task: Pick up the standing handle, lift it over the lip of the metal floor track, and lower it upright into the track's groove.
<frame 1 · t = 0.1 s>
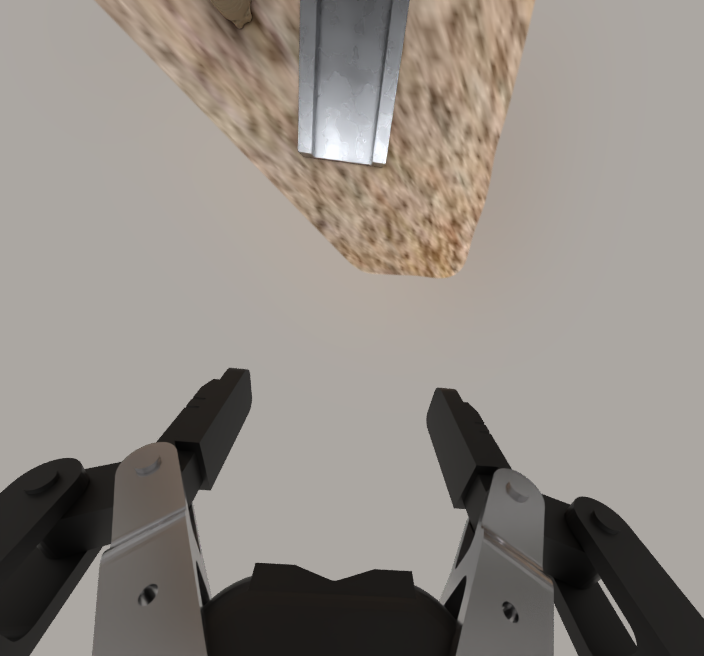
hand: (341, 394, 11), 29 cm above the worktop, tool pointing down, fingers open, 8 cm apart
handle: (239, 9, 26), on the worktop
floor track: (349, 89, 28), on the worktop
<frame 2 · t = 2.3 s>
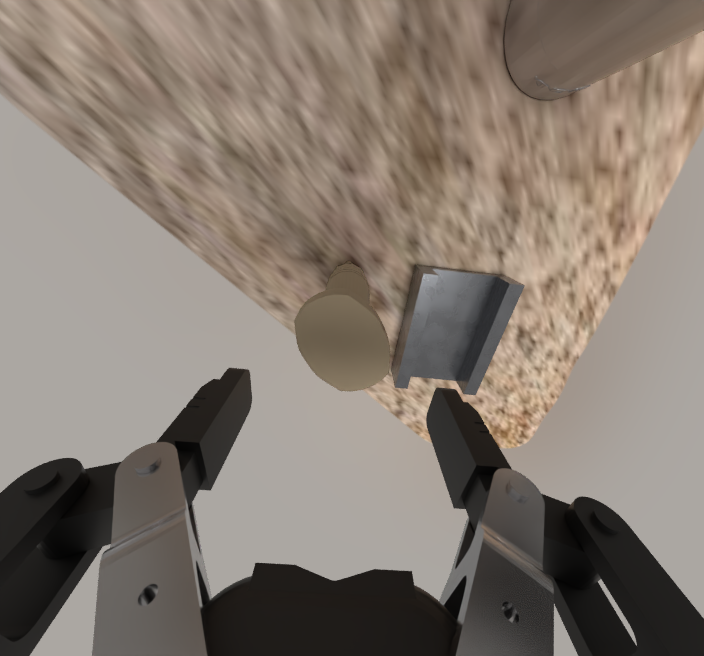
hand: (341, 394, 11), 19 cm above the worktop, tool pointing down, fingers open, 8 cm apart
handle: (348, 275, 28), on the worktop
floor track: (442, 327, 30), on the worktop
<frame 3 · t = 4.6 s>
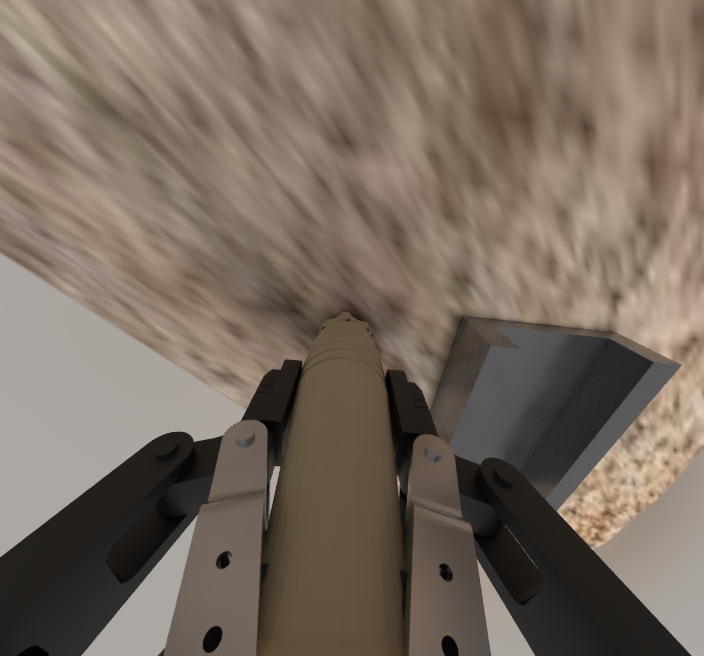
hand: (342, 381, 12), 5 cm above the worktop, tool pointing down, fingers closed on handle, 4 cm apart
handle: (345, 331, 16), on the worktop, touching gripper
floor track: (498, 408, 19), on the worktop
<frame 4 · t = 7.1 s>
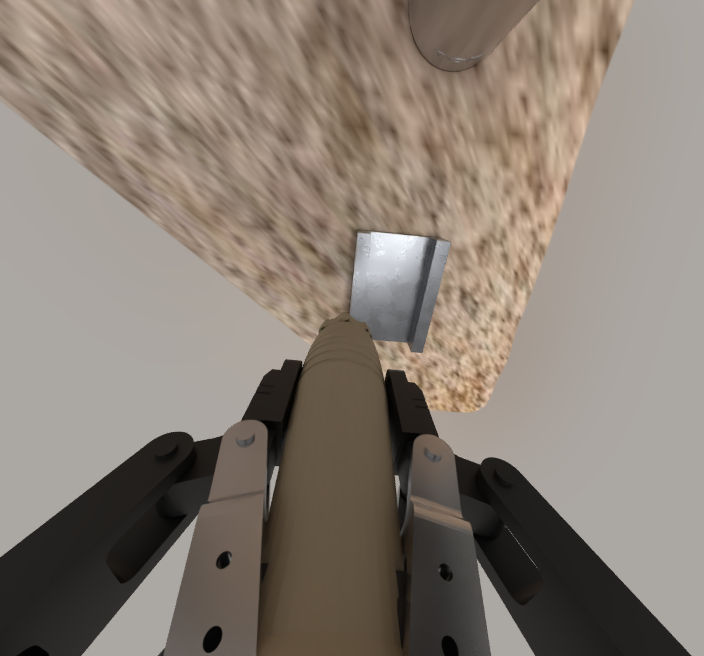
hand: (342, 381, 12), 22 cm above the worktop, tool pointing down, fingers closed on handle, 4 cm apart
handle: (345, 332, 16), point 17 cm above the worktop, touching gripper
floor track: (389, 290, 33), on the worktop
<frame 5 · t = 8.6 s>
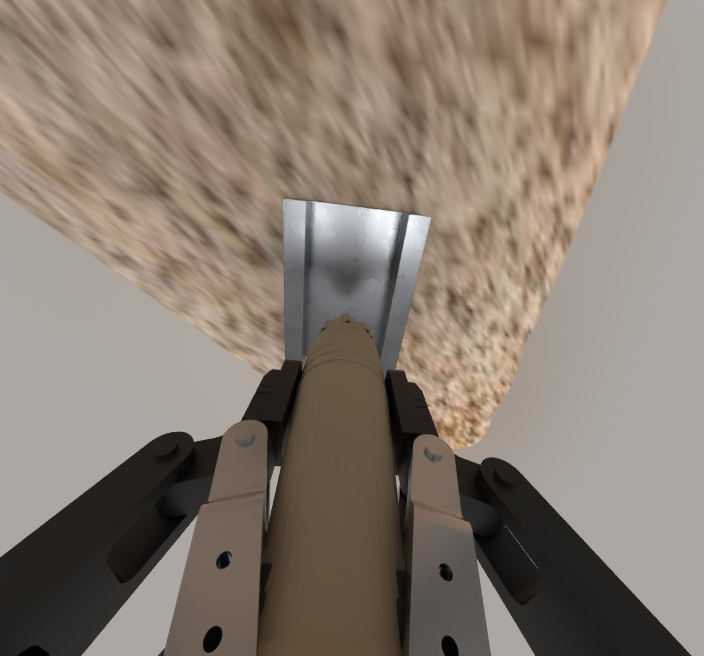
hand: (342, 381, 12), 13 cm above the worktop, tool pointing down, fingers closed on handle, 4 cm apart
handle: (345, 333, 16), point 8 cm above the worktop, touching gripper
floor track: (348, 290, 23), on the worktop
when the fingers open (7 cm above the worktop, at t = 9.9 s): handle stays where it is, resting on floor track.
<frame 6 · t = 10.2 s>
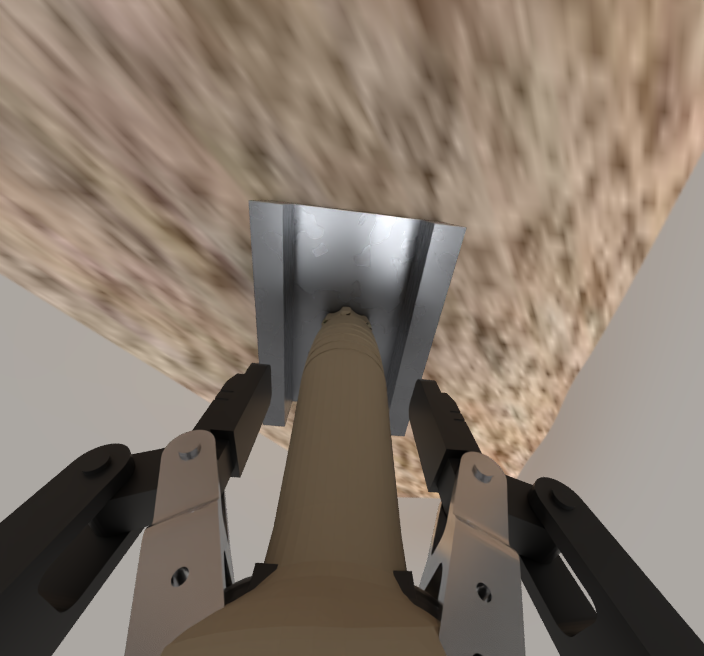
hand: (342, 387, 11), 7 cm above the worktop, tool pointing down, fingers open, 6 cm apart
handle: (346, 325, 17), point 1 cm above the worktop, touching floor track
floor track: (345, 320, 18), on the worktop
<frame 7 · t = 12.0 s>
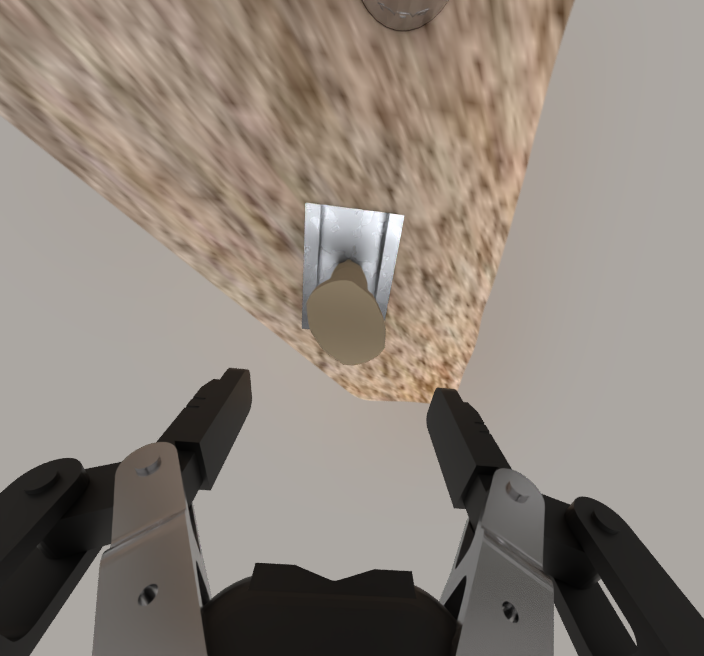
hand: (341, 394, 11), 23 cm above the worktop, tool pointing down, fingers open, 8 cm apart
handle: (348, 272, 31), point 1 cm above the worktop, touching floor track
floor track: (348, 270, 31), on the worktop
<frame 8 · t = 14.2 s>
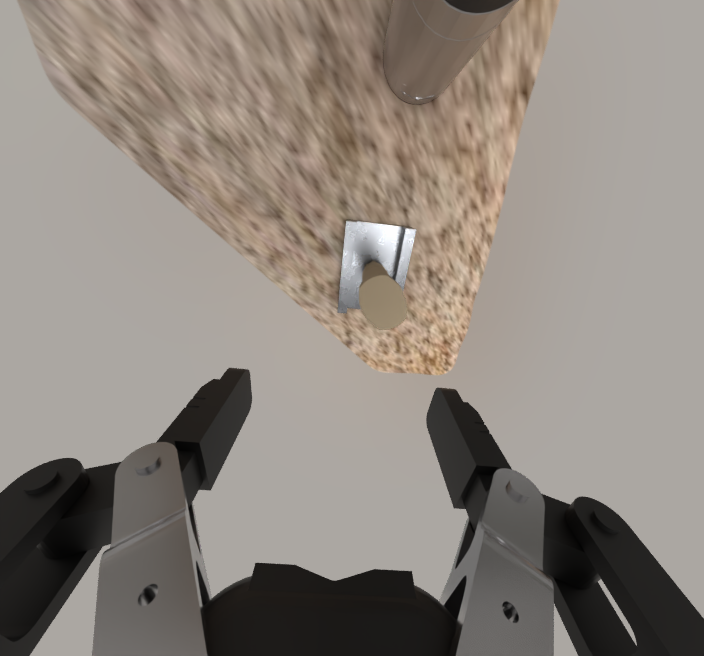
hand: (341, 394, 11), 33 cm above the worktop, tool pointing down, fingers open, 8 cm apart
handle: (372, 270, 41), point 1 cm above the worktop, touching floor track
floor track: (372, 268, 42), on the worktop
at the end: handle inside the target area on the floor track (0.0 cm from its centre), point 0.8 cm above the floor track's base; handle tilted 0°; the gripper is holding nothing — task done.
